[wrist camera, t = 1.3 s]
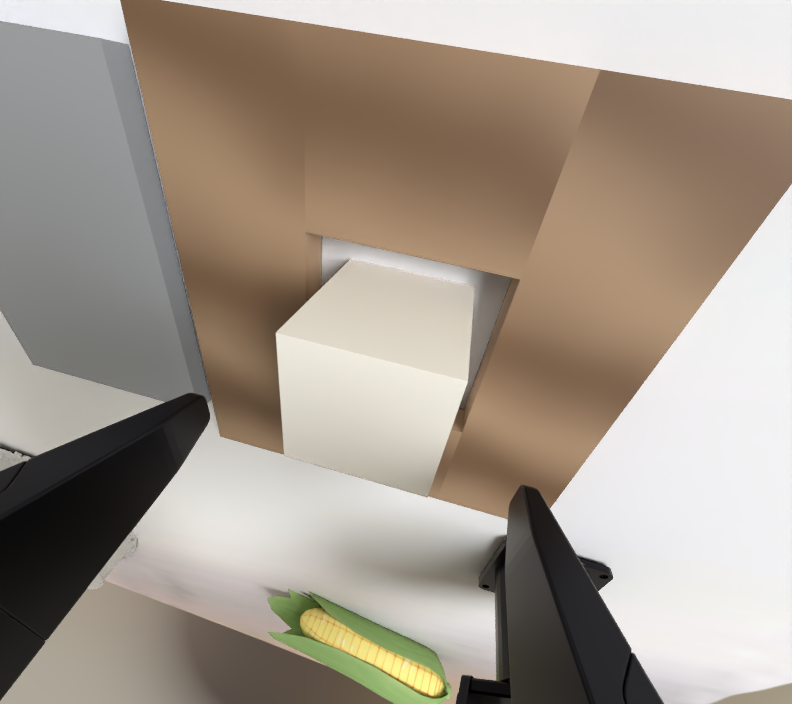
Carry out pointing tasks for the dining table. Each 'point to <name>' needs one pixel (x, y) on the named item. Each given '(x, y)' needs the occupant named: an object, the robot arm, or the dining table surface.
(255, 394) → the pocket plate
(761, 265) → the dining table surface
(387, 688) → the edible corn
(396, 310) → the white block
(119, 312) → the grey mat
